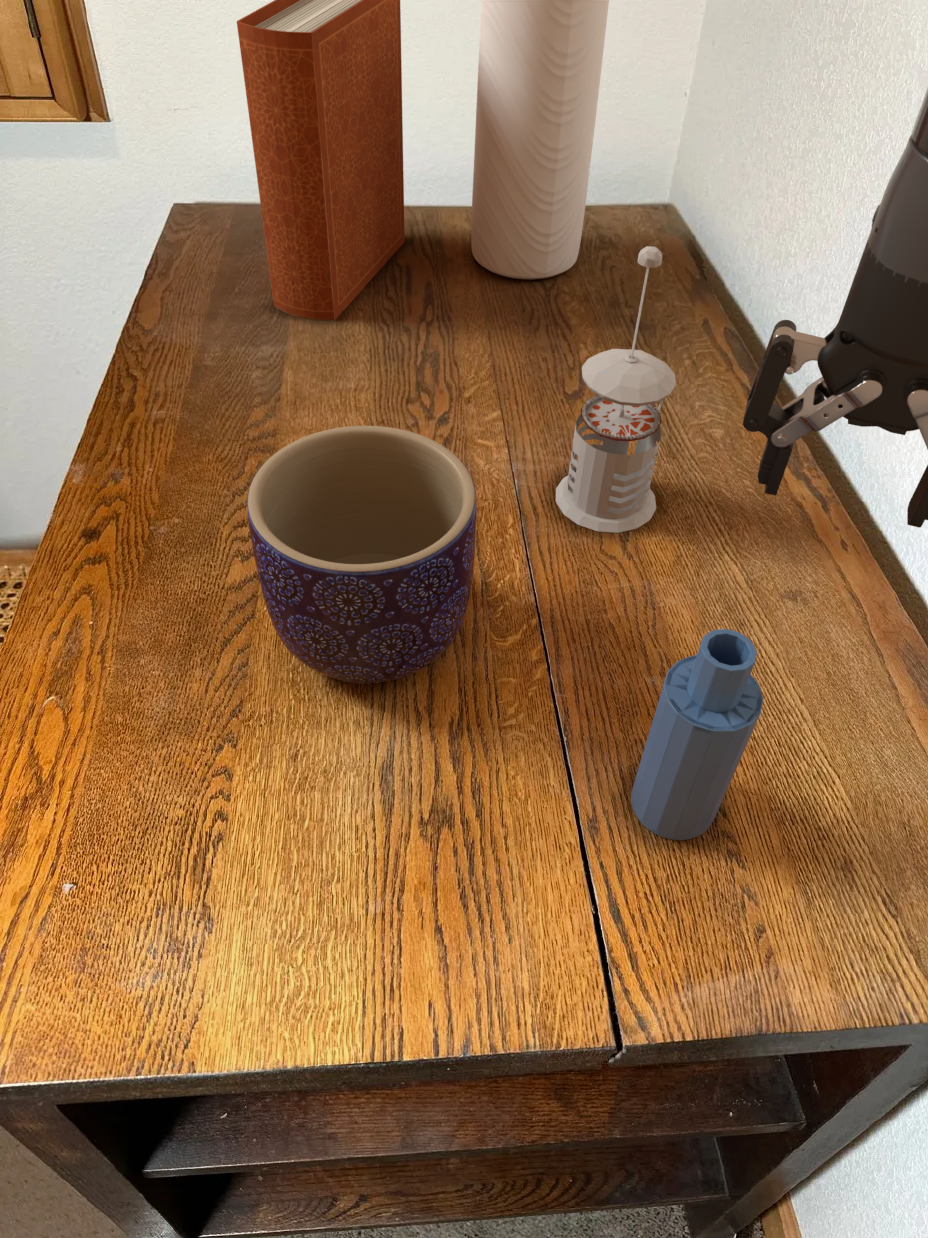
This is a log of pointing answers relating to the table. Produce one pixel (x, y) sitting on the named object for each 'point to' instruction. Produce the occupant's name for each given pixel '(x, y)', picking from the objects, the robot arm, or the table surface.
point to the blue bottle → (697, 736)
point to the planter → (364, 549)
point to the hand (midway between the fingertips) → (841, 502)
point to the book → (326, 145)
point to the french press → (617, 435)
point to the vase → (534, 132)
